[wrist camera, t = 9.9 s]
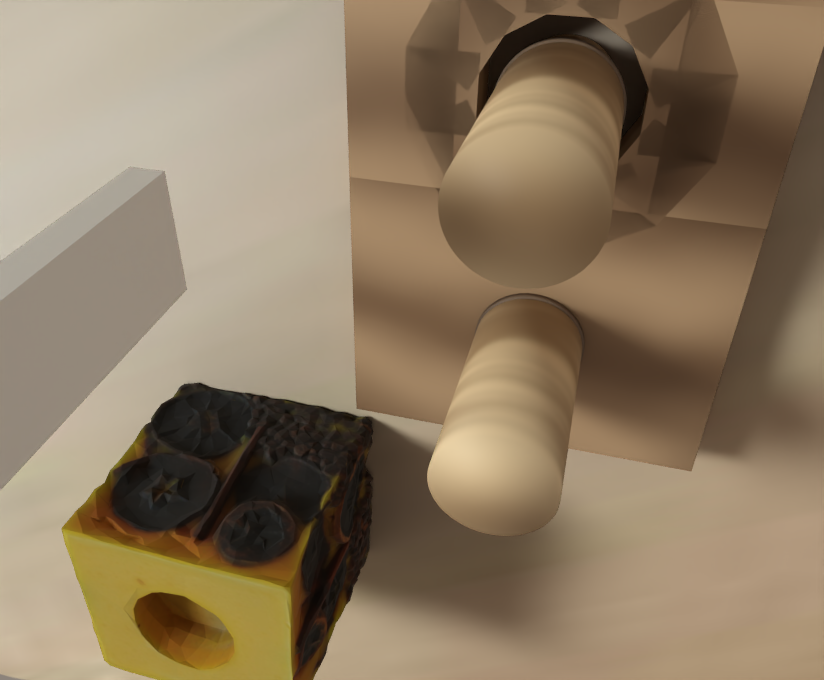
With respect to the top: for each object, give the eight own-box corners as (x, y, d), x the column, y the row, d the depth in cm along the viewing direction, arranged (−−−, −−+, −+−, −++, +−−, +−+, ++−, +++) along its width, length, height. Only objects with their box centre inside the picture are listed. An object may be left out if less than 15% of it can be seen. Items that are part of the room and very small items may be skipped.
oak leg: (509, 17, 25) (439, 116, 17) (639, 27, 24) (629, 136, 16) (498, 140, 27) (432, 277, 19) (617, 153, 27) (598, 302, 19)
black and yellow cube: (375, 414, 36) (296, 584, 28) (374, 555, 42) (307, 728, 34) (179, 374, 38) (53, 522, 30) (203, 514, 44) (102, 669, 36)
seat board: (359, -214, 23) (196, -224, 15) (882, -205, 20) (1032, -211, 12) (370, 381, 35) (285, 549, 27) (689, 438, 32) (698, 644, 24)
